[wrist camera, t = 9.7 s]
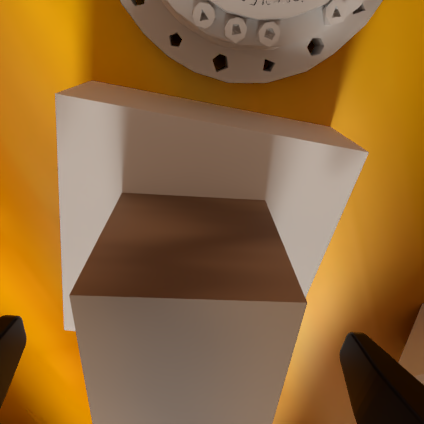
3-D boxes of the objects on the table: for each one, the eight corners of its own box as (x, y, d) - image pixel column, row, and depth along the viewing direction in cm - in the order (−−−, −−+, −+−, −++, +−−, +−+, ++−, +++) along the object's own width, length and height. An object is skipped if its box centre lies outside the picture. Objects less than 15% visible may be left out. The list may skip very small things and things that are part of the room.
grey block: (326, 124, 14) (368, 152, 10) (266, 293, 19) (281, 352, 15) (95, 79, 13) (55, 93, 9) (91, 271, 17) (64, 329, 14)
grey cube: (265, 200, 11) (306, 302, 7) (247, 304, 14) (269, 431, 9) (121, 192, 11) (69, 295, 7) (129, 301, 13) (94, 429, 9)
